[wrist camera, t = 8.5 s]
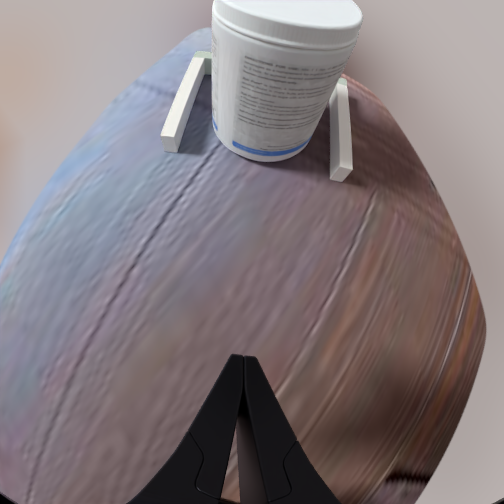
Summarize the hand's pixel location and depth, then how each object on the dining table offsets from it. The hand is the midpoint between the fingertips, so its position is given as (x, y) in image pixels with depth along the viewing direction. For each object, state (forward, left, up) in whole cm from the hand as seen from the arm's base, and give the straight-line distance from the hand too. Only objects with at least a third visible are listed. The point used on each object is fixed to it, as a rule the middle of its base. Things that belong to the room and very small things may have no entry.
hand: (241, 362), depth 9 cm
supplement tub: (+6, -18, -13) cm, 23 cm away
